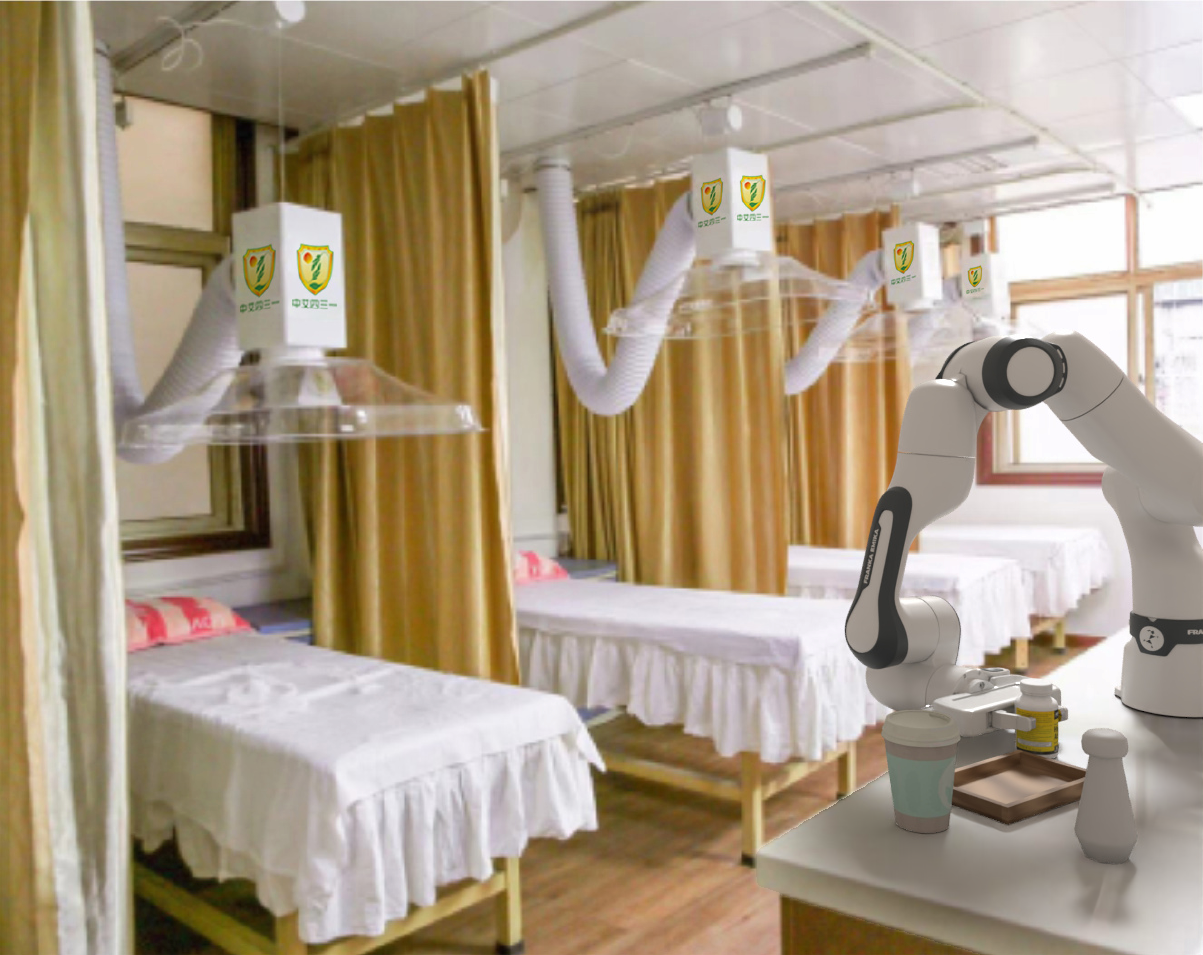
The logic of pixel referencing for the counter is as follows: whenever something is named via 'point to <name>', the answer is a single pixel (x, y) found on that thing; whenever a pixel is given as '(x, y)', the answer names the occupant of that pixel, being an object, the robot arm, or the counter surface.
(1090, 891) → the counter surface
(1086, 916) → the counter surface
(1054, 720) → the supplement bottle
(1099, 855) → the salt shaker
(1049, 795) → the tray
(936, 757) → the coffee cup
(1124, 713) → the counter surface
